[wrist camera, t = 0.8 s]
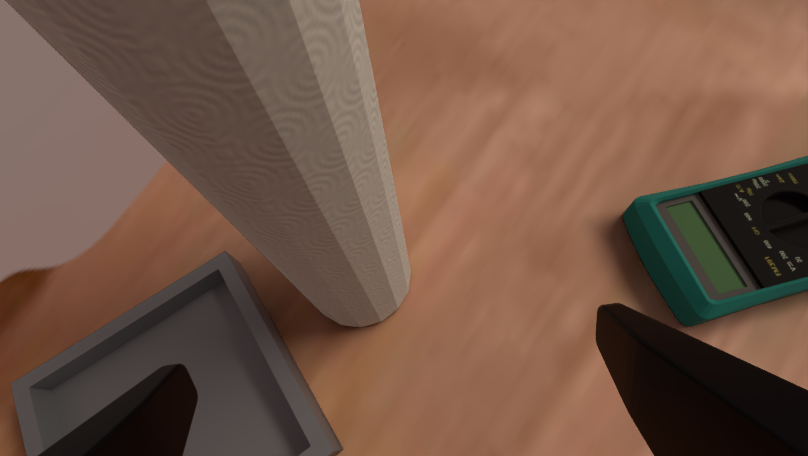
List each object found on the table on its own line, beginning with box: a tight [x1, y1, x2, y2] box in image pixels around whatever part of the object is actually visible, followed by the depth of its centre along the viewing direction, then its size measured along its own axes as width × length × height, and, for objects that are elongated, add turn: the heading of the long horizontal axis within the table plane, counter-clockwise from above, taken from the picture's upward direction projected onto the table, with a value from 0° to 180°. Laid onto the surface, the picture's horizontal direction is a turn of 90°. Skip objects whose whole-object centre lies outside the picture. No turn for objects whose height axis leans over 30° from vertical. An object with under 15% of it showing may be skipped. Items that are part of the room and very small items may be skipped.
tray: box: [11, 251, 343, 456], centre depth 21 cm, size 13×13×2 cm
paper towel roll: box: [5, 0, 411, 327], centre depth 16 cm, size 7×6×21 cm
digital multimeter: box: [623, 156, 808, 326], centre depth 23 cm, size 7×15×3 cm, turn 104°
